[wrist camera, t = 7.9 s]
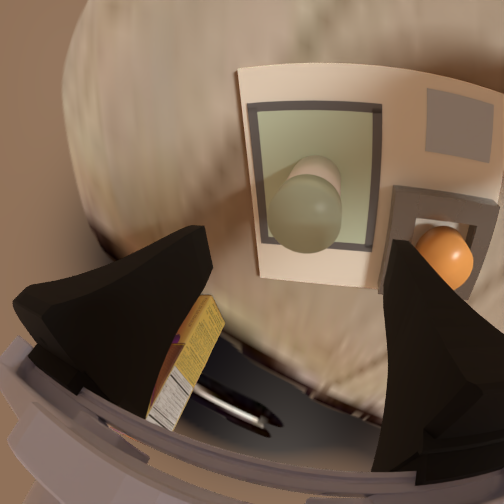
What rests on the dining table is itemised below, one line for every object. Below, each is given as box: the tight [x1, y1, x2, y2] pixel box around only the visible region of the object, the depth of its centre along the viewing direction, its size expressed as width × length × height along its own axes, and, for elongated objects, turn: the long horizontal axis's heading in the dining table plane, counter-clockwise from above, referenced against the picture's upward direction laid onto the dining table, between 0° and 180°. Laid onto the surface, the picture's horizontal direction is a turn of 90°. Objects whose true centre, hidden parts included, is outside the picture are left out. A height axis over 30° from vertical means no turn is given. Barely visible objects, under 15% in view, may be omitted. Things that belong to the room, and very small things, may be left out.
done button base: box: [378, 185, 500, 300], centre depth 16 cm, size 8×8×1 cm
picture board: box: [237, 63, 504, 289], centre depth 16 cm, size 18×16×1 cm
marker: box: [267, 155, 342, 254], centre depth 15 cm, size 3×3×6 cm
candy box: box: [107, 295, 225, 445], centre depth 23 cm, size 9×4×15 cm, turn 106°
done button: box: [415, 226, 473, 290], centre depth 15 cm, size 4×4×2 cm
